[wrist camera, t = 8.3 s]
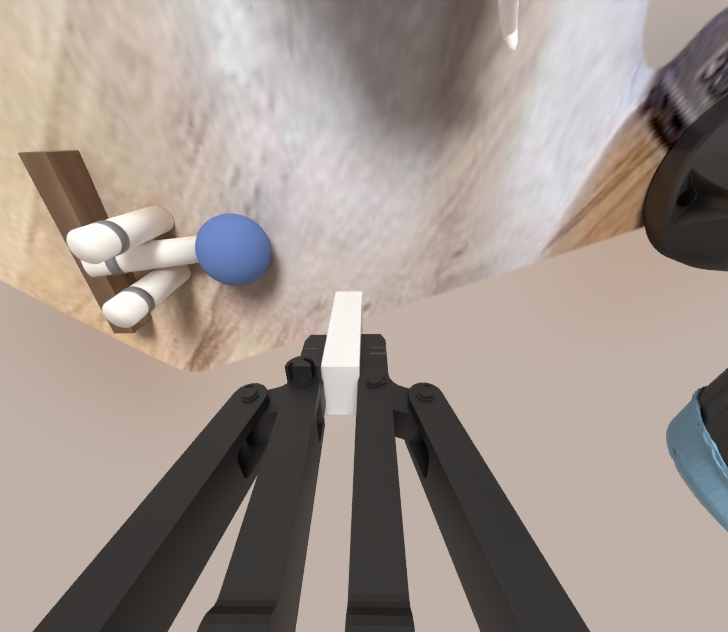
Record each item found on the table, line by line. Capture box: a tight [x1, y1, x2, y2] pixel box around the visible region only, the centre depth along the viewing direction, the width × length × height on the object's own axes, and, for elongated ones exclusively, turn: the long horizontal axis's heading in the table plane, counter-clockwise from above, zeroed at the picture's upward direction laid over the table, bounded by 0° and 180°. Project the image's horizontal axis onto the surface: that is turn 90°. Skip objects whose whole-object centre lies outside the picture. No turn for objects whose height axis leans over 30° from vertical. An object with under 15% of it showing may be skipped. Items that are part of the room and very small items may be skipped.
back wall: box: [18, 150, 152, 333], centre depth 27 cm, size 2×16×3 cm, turn 0°
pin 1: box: [66, 205, 174, 264], centre depth 24 cm, size 2×2×8 cm
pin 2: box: [102, 265, 191, 328], centre depth 26 cm, size 2×2×8 cm
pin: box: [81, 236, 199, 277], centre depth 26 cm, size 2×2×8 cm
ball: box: [195, 214, 271, 285], centre depth 26 cm, size 6×6×6 cm
